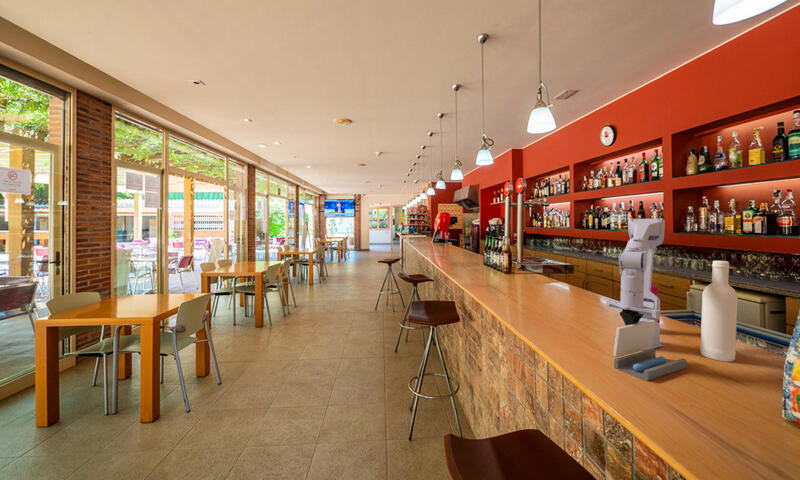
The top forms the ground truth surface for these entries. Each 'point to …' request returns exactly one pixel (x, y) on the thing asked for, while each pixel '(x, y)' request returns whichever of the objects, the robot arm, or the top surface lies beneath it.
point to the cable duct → (650, 373)
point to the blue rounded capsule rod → (649, 363)
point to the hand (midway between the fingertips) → (630, 335)
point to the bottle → (719, 316)
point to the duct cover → (633, 338)
